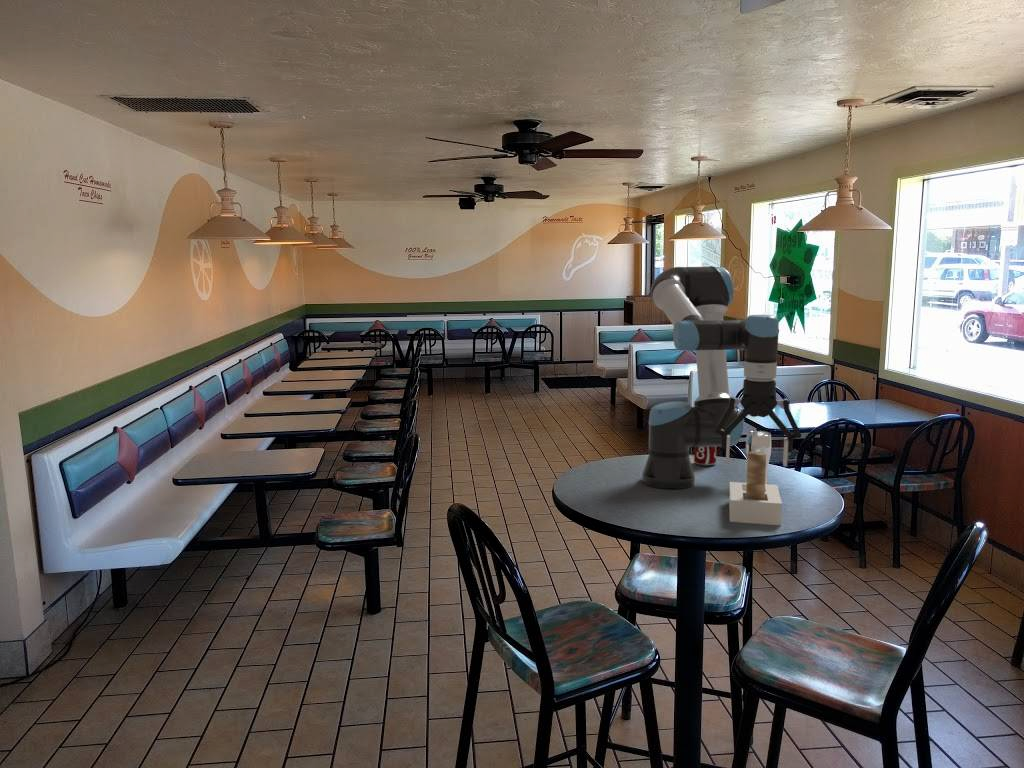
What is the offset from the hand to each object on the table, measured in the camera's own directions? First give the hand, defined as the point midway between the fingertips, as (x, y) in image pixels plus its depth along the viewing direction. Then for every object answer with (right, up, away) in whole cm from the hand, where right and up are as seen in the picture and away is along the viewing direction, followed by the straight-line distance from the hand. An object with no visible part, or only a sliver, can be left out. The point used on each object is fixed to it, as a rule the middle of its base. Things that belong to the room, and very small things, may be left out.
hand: (755, 463), depth 187 cm
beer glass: (+10, -9, +32) cm, 35 cm away
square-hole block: (+1, -13, +5) cm, 14 cm away
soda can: (+1, -6, +55) cm, 55 cm away
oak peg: (0, -12, +1) cm, 12 cm away
